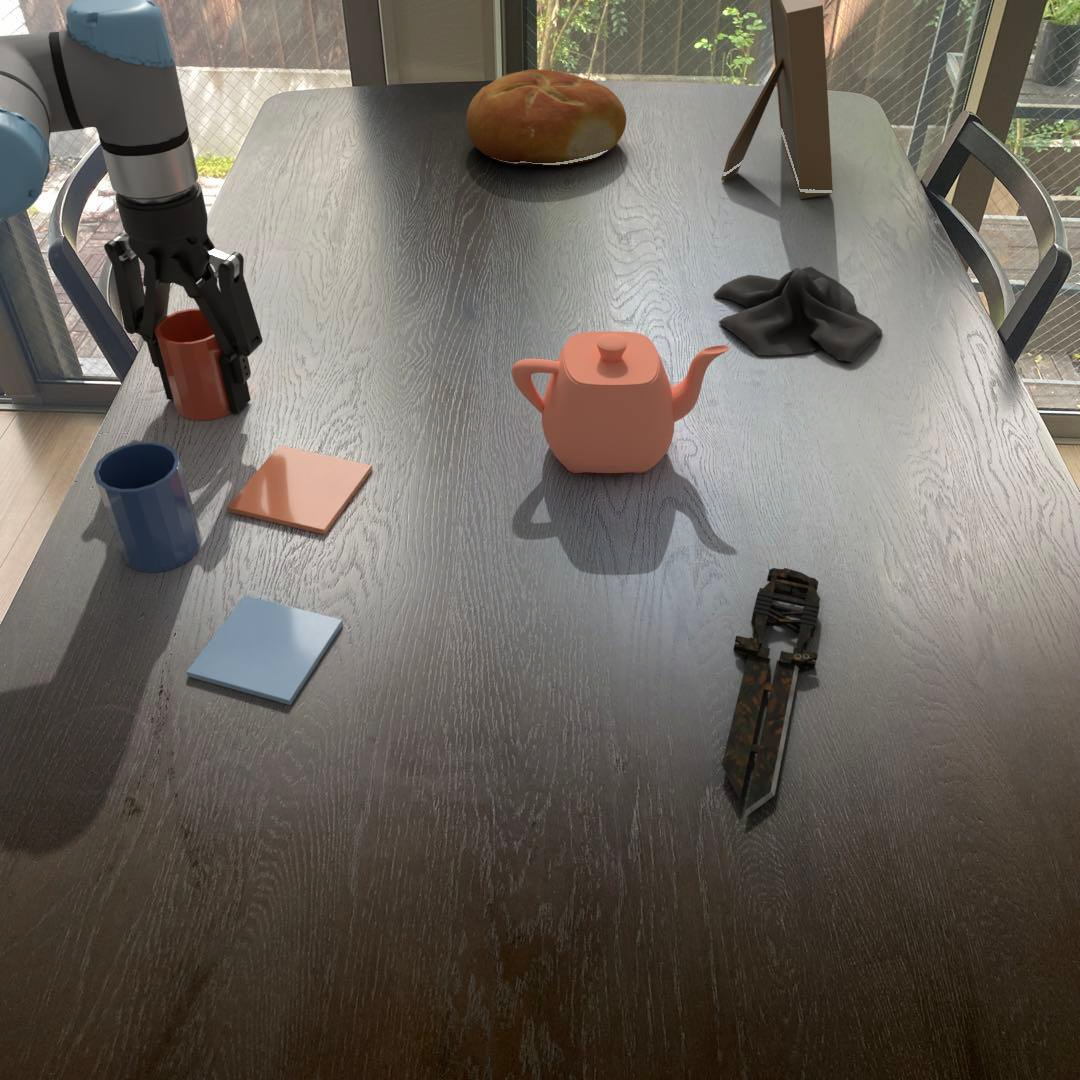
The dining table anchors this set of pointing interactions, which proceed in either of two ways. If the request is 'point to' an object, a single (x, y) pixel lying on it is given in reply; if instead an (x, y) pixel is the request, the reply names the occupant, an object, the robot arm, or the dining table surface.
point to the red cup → (192, 365)
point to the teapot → (611, 400)
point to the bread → (544, 118)
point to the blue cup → (148, 506)
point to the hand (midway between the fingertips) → (208, 399)
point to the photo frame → (796, 95)
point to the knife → (769, 685)
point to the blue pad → (266, 649)
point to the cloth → (797, 315)
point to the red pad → (300, 489)
